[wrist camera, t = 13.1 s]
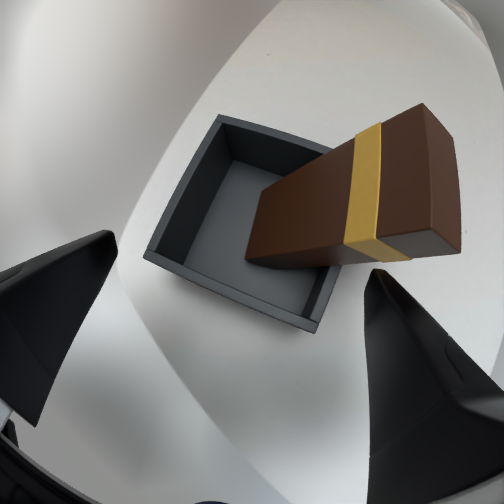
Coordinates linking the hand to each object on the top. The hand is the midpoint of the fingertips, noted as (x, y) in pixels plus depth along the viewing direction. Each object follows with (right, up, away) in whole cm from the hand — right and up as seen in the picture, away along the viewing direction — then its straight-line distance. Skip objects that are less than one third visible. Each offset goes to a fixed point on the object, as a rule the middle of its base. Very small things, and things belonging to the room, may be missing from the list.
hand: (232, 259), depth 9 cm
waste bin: (+2, +2, +11) cm, 12 cm away
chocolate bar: (+2, +2, +10) cm, 11 cm away
